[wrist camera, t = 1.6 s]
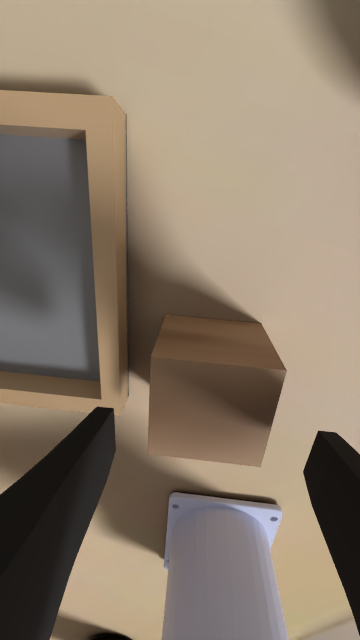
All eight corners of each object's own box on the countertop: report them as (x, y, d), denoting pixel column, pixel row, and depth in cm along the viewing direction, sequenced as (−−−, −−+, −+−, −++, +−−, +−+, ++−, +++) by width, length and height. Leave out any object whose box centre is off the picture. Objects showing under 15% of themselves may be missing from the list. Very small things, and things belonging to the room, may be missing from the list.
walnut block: (244, 399, 16) (260, 466, 11) (161, 390, 16) (147, 453, 12) (260, 322, 14) (286, 370, 9) (165, 313, 14) (150, 356, 10)
